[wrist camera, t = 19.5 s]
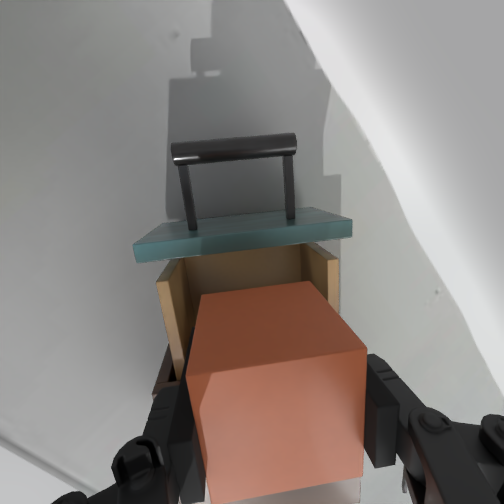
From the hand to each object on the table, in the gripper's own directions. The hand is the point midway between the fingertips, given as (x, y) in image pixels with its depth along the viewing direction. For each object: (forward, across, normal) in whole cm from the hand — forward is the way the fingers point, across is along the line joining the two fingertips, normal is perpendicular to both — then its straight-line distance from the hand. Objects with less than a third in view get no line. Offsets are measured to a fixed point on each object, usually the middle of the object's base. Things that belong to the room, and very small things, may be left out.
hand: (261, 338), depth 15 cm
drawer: (+11, 0, +2) cm, 11 cm away
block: (0, 0, 0) cm, 0 cm away
